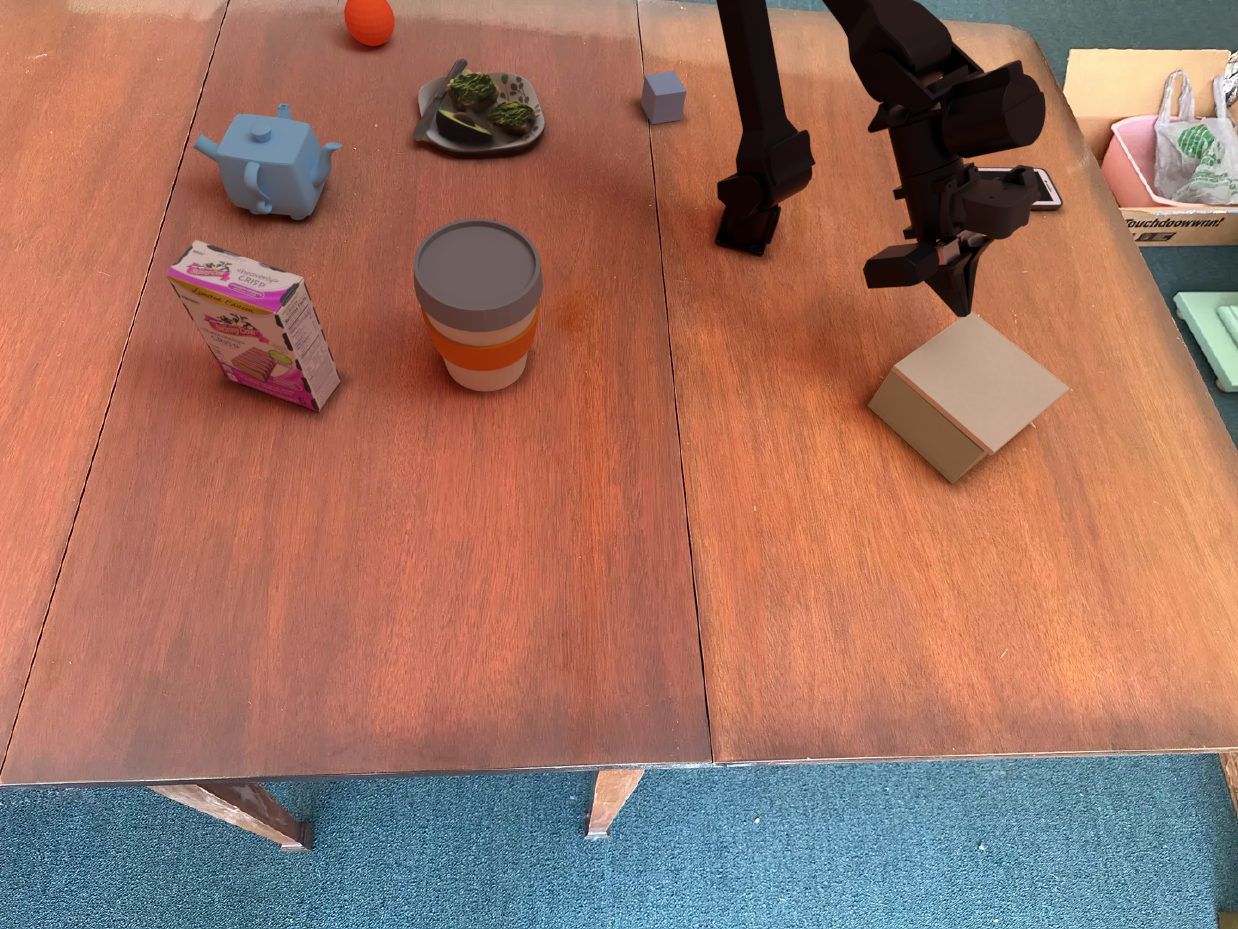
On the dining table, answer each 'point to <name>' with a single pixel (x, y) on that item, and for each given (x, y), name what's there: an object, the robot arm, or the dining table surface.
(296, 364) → the candy bar box
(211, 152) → the teapot
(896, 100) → the robot arm
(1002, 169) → the cell phone
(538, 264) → the reusable coffee cup
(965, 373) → the lid
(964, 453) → the chest
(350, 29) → the clementine
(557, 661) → the dining table surface
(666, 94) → the block
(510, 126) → the avocado toast plate
